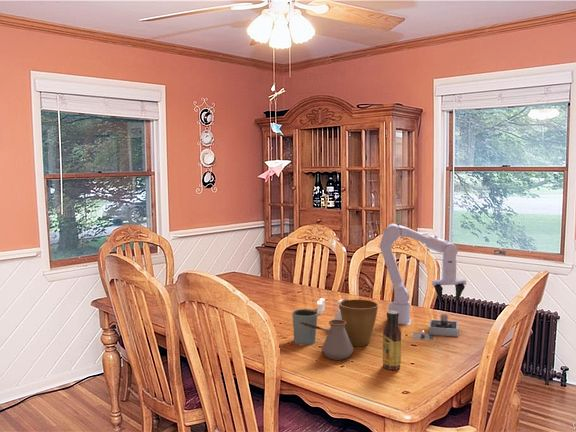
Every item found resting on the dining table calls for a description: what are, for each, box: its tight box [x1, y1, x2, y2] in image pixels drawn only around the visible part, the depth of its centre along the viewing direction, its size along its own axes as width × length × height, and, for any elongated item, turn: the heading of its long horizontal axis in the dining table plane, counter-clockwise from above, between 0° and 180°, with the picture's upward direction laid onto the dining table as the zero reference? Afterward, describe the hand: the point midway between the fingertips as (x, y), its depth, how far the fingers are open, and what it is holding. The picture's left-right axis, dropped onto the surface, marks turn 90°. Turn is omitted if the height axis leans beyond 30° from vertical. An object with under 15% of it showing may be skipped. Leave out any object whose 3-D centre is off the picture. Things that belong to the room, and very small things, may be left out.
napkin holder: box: [316, 297, 326, 315], centre depth 255 cm, size 15×11×6 cm
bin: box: [428, 319, 459, 337], centre depth 219 cm, size 11×11×4 cm
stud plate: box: [411, 330, 434, 341], centre depth 213 cm, size 8×8×3 cm
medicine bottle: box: [334, 298, 348, 320], centre depth 228 cm, size 7×7×12 cm
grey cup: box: [291, 308, 319, 346], centre depth 210 cm, size 10×10×12 cm
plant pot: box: [340, 299, 379, 347], centre depth 207 cm, size 15×15×16 cm
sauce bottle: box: [382, 310, 402, 371], centre depth 181 cm, size 7×6×20 cm
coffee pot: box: [298, 319, 354, 361], centre depth 191 cm, size 21×12×15 cm, turn 114°
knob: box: [436, 314, 453, 329], centre depth 219 cm, size 5×5×7 cm
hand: (448, 301), depth 229 cm, fingers open, 7 cm apart
